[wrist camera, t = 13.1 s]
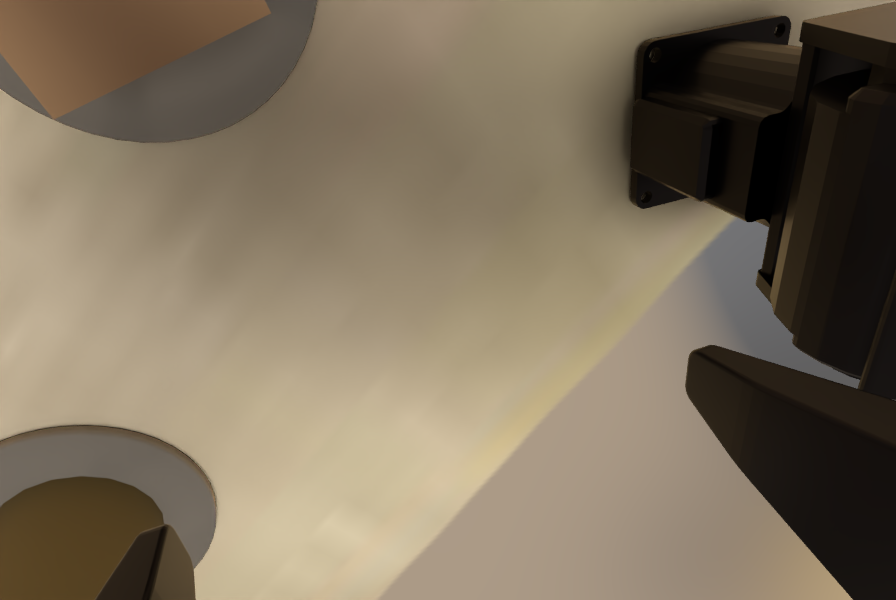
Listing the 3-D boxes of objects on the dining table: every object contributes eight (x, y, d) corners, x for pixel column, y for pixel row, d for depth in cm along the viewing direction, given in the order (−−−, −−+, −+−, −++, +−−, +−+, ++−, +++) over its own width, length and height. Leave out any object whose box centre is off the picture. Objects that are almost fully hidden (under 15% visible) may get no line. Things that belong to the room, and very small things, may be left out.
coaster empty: (165, 393, 22) (164, 402, 21) (245, 555, 27) (246, 566, 26) (-140, 479, 20) (-150, 492, 19) (10, 637, 25) (6, 651, 24)
